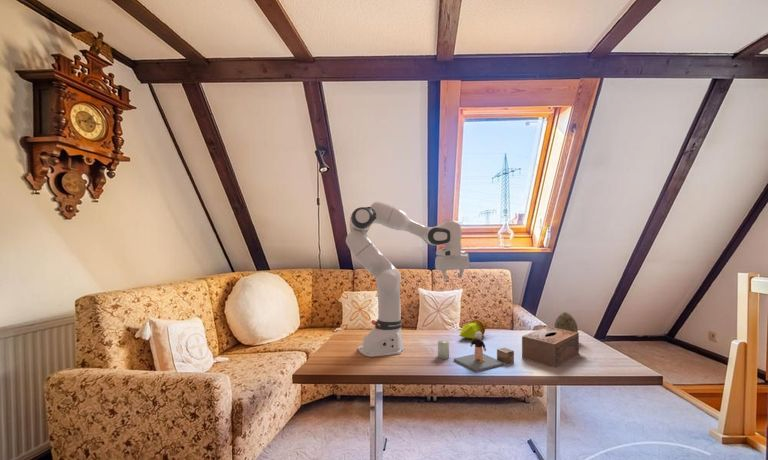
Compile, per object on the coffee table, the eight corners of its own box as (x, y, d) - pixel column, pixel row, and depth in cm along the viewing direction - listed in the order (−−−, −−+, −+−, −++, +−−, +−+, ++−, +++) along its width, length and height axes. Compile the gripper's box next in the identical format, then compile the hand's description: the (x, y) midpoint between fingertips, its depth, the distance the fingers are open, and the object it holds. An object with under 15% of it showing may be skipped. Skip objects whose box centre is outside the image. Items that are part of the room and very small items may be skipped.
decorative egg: (553, 337, 187) (552, 309, 187) (575, 339, 184) (575, 310, 184) (556, 343, 177) (556, 313, 177) (579, 345, 174) (579, 315, 174)
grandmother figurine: (488, 361, 149) (488, 331, 150) (485, 363, 146) (485, 334, 146) (471, 357, 154) (471, 329, 154) (468, 360, 151) (468, 331, 151)
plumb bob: (468, 345, 175) (498, 330, 190) (463, 327, 176) (493, 314, 191) (455, 344, 183) (485, 330, 197) (451, 327, 184) (481, 315, 198)
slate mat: (476, 372, 140) (476, 369, 140) (453, 360, 152) (453, 358, 152) (504, 365, 148) (504, 362, 148) (480, 354, 160) (480, 352, 160)
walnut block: (506, 364, 149) (505, 352, 149) (497, 360, 153) (497, 349, 153) (513, 362, 151) (513, 350, 151) (504, 358, 156) (504, 347, 156)
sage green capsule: (442, 359, 154) (442, 344, 154) (435, 356, 158) (435, 340, 158) (451, 357, 156) (451, 342, 156) (444, 354, 161) (444, 339, 161)
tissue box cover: (547, 346, 173) (547, 326, 173) (578, 354, 162) (578, 332, 162) (522, 358, 156) (522, 336, 156) (554, 367, 145) (554, 344, 145)
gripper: (464, 250, 186) (464, 276, 185) (433, 251, 176) (433, 279, 176) (472, 251, 180) (472, 277, 180) (440, 252, 170) (441, 280, 170)
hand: (452, 278), depth 178 cm, fingers open, 8 cm apart
